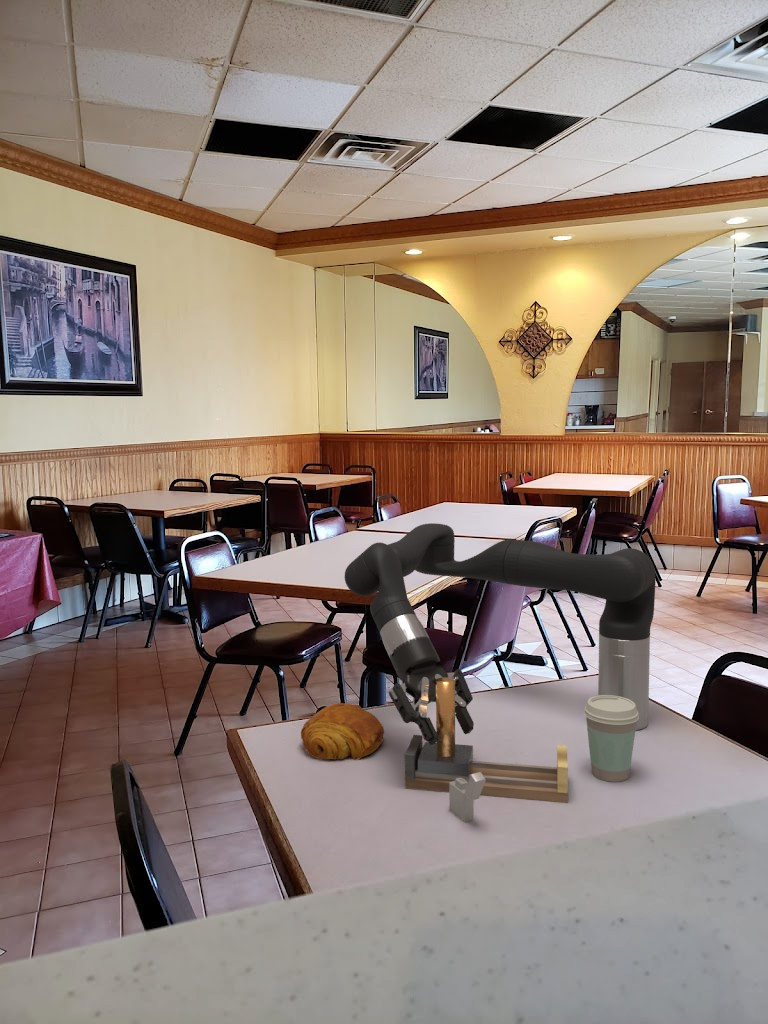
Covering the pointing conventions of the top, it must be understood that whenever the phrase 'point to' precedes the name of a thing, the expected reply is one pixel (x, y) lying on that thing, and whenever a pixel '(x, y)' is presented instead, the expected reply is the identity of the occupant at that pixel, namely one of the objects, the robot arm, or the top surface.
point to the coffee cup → (611, 735)
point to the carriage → (445, 737)
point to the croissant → (342, 732)
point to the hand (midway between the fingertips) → (452, 736)
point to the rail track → (496, 777)
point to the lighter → (465, 795)
